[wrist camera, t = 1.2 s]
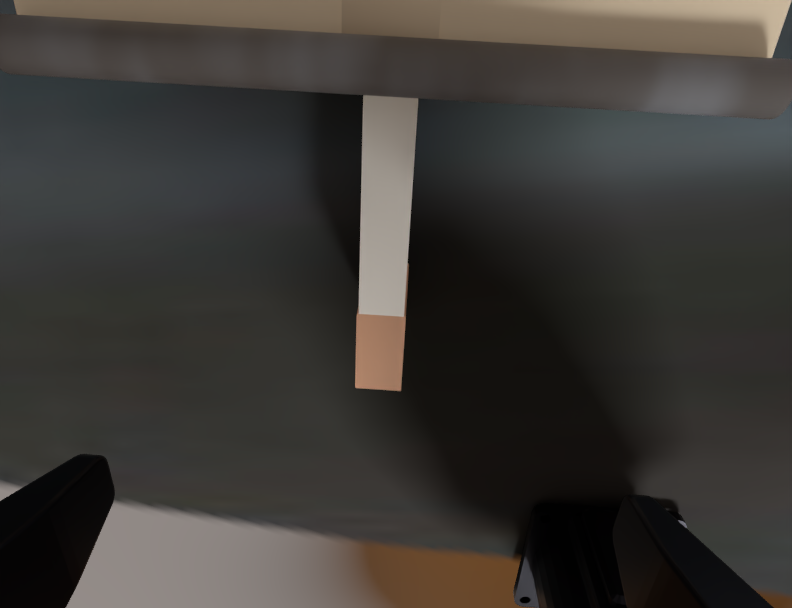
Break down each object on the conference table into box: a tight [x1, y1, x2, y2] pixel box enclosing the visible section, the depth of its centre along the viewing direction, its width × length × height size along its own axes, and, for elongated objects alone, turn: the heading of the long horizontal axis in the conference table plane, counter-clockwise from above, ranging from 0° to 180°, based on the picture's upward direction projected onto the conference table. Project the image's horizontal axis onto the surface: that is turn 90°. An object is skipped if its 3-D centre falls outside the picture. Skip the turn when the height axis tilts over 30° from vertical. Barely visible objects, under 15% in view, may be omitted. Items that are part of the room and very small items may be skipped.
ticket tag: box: [355, 95, 418, 391], centre depth 13 cm, size 16×1×4 cm, turn 177°
